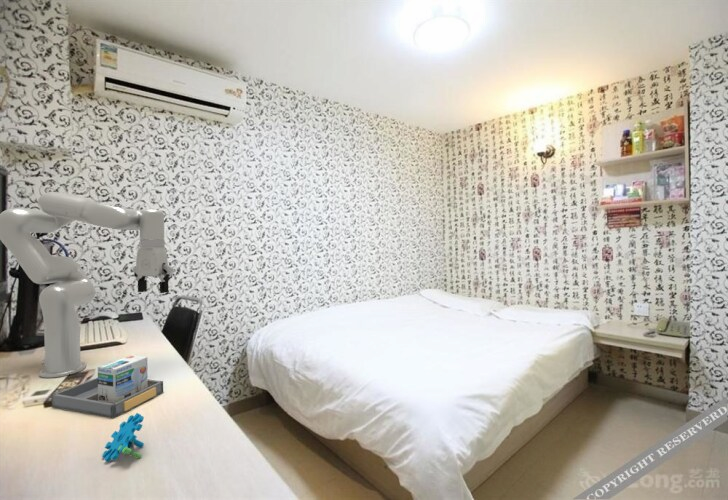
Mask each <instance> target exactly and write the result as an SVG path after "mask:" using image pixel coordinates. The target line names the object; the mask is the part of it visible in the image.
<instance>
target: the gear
mask: <svg viewBox="0 0 728 500" xmlns="http://www.w3.org/2000/svg"><path fill="white" fill-rule="evenodd" d="M126 420H127V421H122V422H121V423H120V424H119V430H118V431H116V430H115V431H113V433H112V434H111V435H110V437H111V438H112V442H111V441H108V442H107V443H106V444H105V446H104V449H107V450H104V452H103V453H102V456H101V457H102V458H104V461H105V462H107V463H110V462H111V461H112V460H113V461H116V460H117V459H118V458H119V457H120V454H121V453H122V454H124V455H125V456H126V457H128V458H129V457H131V456H133V457H134V458H136V459H138V460H139V459H141V458H142V456H143V455H142V454H140V453H139V452H136V451H135V446H136V447H138V448H143V446H144V445H145V443H144V442H143V441H140V440H139V439H137V438H138V436H137V435H135V432H136V431H137V432H140V431H141V429H142V427H143V424H142V423H143V421H144V416H142V415H141V414H140V413H139V412H136V413H135V415H133V414H132V415H129V417H128V418H127V419H126Z"/></svg>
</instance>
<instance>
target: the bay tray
mask: <svg viewBox="0 0 728 500" xmlns="http://www.w3.org/2000/svg"><path fill="white" fill-rule="evenodd" d="M163 393H164V381H163V380H155V379H149V378H148V388H145V389H143V390H141V391H139V392H137V393H135V394H133V395H131V396H129V397H127V398H124V399H122V400H120V401H118V402H116V403H114V404H113V403H107V402H101V401H98V376H97V377H95V378H92V379H89V380H87V381H84V382H82V383H79V384H76V385H74V386H71V387H69V388H66V389H63V390H60V391H58V392H55V393H53V394H51V407H52V408H55V409H59V410H65V411H71V412H77V413H82V414H88V415H93V416H97V417H104V418H108V419H115V418H118V417H119V416H121V415H123V414H125V413H127V412H128V411H130V410H132V409H134V408H136V407H138V406H140V405H142V404H144V403H146V402H148V401H149V400H152V399H154V398H155V397H157V396H159V395H161V394H163Z"/></svg>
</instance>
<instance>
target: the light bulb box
mask: <svg viewBox="0 0 728 500" xmlns="http://www.w3.org/2000/svg"><path fill="white" fill-rule="evenodd" d="M97 377H98V401H101V402H107V403H113V404H114V403H116V402H118V401H120V400H122V399H124V398H127V397H129V396H131V395H133V394H135V393H137V392H139V391H141V390H143V389H145V388H148V379H149V378H148V357H147V356H146V357H145V356H139V355H138V356H137V355H128V356H125V357H122V358H120V359H117V360H114V361H111V362H108V363H105V364H103V365H100V366H97Z"/></svg>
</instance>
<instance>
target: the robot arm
mask: <svg viewBox="0 0 728 500" xmlns="http://www.w3.org/2000/svg"><path fill="white" fill-rule="evenodd" d="M37 205H38V209H36V208H28V207H27V208H26V207H15V208H14V207H13V208H9V209H5V210H4V211H2V212H1V213H0V241H1V243H2V245H4V246H5V248H6V249H7V250H8V251H9V252H10V253H11V254H12V256H14V259H15V260H16V261H17V263H18V265H20V267H21V268H22V270H23V272H24V273H25V274H26V276H27V278H29V279H30V281H32V283H34V284H37V285H45V284H46V285H47V284H50V285H48V286H46V287H45V288H44V289H42V290H41V292H40V294H39V296H38V297H39V299H38V300H39V305H40V309H41V312H42V316H43V317H42V318H43V319H42V320H43V332H44V333H43V334H44V337H43V338H44V359H43V360H41V361H40V364H41V365H43V366H44V368H43V369H41V370H39V373H38V374H39V377H40V378H47V379H48V378H50V379H51V378H60V377H65V376H69V374H70V375H72V374H76V372H77V373H79V372H81V371H83V370H85V369H86V367H87V363H86V362H84V361H83V362H82V361H81V328H80V327H81V326H80V317H79V314H78V311H76V309H75V308H76V307H79V306H84V305H87V304H89V303H91V302H92V301H93V299H94V298H95V296H96V289H95V287H94V284H93V283H92V281H91V280H90V278H89V277H88V275H87V274H86V272H85V271H84V270H83V268H82V267H81V265H80V264H79V263H78V262H77V261H76V260H75V259H73V258H71V257H68V256H64V255H58V256H55V255H52V254H51V253H50V252H49V251H48V249H47V248H46V245H44V244H43V242H42V241H40V240H39V239H37V238H36V237H35V236H33V235H32V234H34V233H36V234H47V233H54V232H56V231H58V230H60V229H62V228H63V227H65V226H67V225H69V224H70V223H72V222H74V221H76V222H81V223H86V224H89V225H93V226H97V227H103V228H107V229H111V230H118V231H119V230H120V231H122V230H125V231H139V248H138V249H137V253H136V263H135V266H134V267H133V268H132V272H133V275H134V277H135V279H136V281H137V292H138V293H143V292H147V290H148V281H147V277H151V278H152V277H157V278H158V279H159V280H160V282H159V293H160V294H164V293H165V294H166V293H168V292H169V282H170V281H171V279H172V277H173V274H174V271H175V270H174V268H172V267H171V266H170V265H169V261H168V254H167V250H166V247H165V245H166V243H165V213H164V212H163V210H160V209H153V208H152V209H149V208H148V209H141V210H140V209H134V208H126V207H120V206H119V207H118V206H113V205H108V204H104V203H99V202H97V201H96V200H94V199H92V198H89V197H83V196H78V195H76V194H71V193H64V192H59V191H50V192H49V191H48V192H45V193H43V194H40V196H39V198H38V200H37ZM31 233H32V234H31Z"/></svg>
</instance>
